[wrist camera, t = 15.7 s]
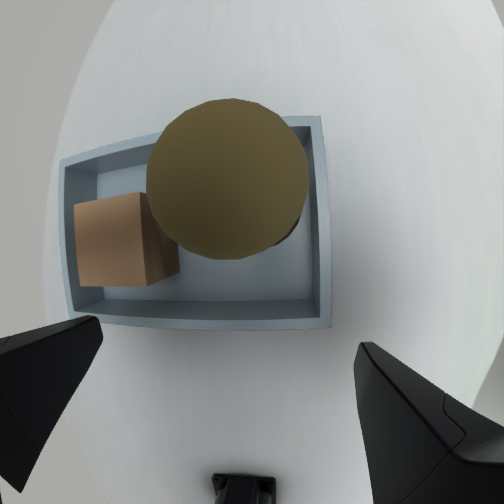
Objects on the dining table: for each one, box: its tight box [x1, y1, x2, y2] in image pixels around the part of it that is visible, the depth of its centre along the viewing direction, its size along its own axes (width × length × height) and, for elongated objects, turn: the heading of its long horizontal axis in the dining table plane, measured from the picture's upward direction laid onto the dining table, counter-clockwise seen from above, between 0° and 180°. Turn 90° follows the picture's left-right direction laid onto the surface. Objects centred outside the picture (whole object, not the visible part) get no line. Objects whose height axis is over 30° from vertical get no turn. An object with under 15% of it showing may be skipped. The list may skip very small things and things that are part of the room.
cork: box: [146, 98, 309, 260], centre depth 12 cm, size 6×6×11 cm
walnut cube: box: [74, 192, 180, 287], centre depth 16 cm, size 5×5×5 cm
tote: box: [59, 116, 332, 331], centre depth 17 cm, size 11×17×5 cm, turn 93°
